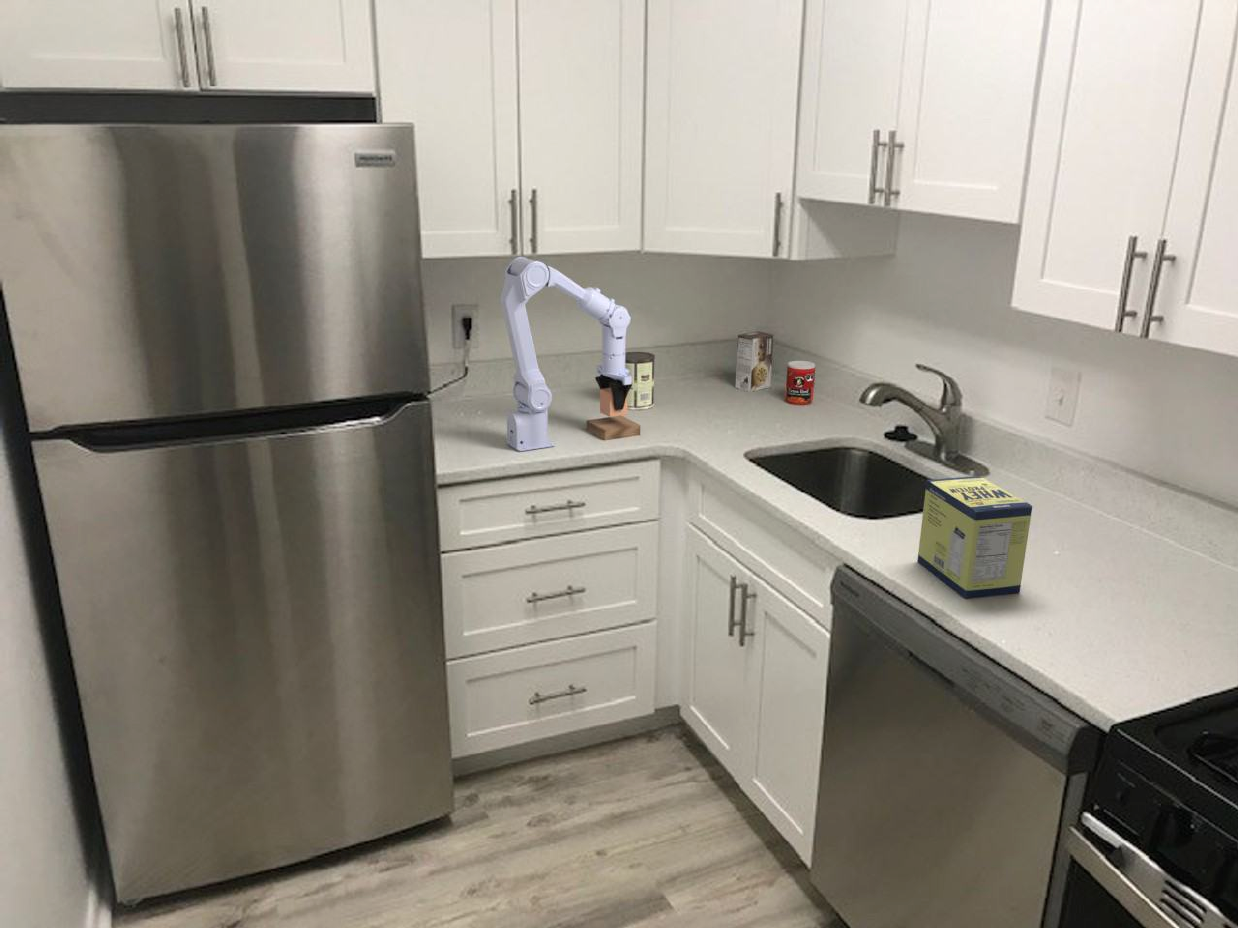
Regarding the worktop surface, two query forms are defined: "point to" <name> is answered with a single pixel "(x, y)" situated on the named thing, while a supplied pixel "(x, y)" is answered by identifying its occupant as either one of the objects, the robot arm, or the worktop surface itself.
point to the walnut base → (613, 427)
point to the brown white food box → (754, 361)
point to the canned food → (800, 382)
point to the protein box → (974, 536)
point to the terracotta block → (610, 404)
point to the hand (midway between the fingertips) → (613, 406)
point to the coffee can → (640, 380)
